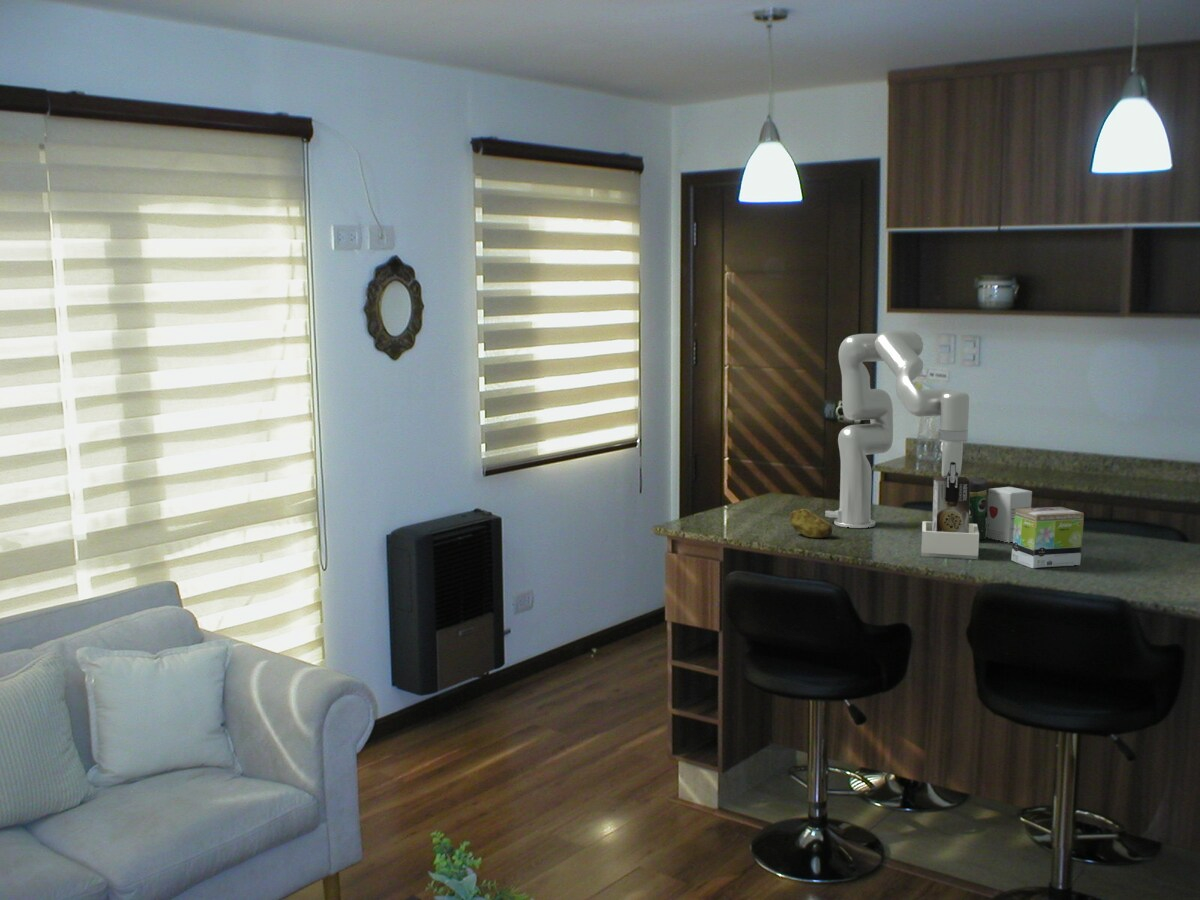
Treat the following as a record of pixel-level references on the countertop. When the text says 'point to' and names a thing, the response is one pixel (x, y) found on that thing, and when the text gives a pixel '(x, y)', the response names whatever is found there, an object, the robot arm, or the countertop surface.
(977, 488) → the coffee jar
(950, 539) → the tote
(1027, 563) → the tea box
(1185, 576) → the countertop surface
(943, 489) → the coffee box
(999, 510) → the supplement box
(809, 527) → the potato
